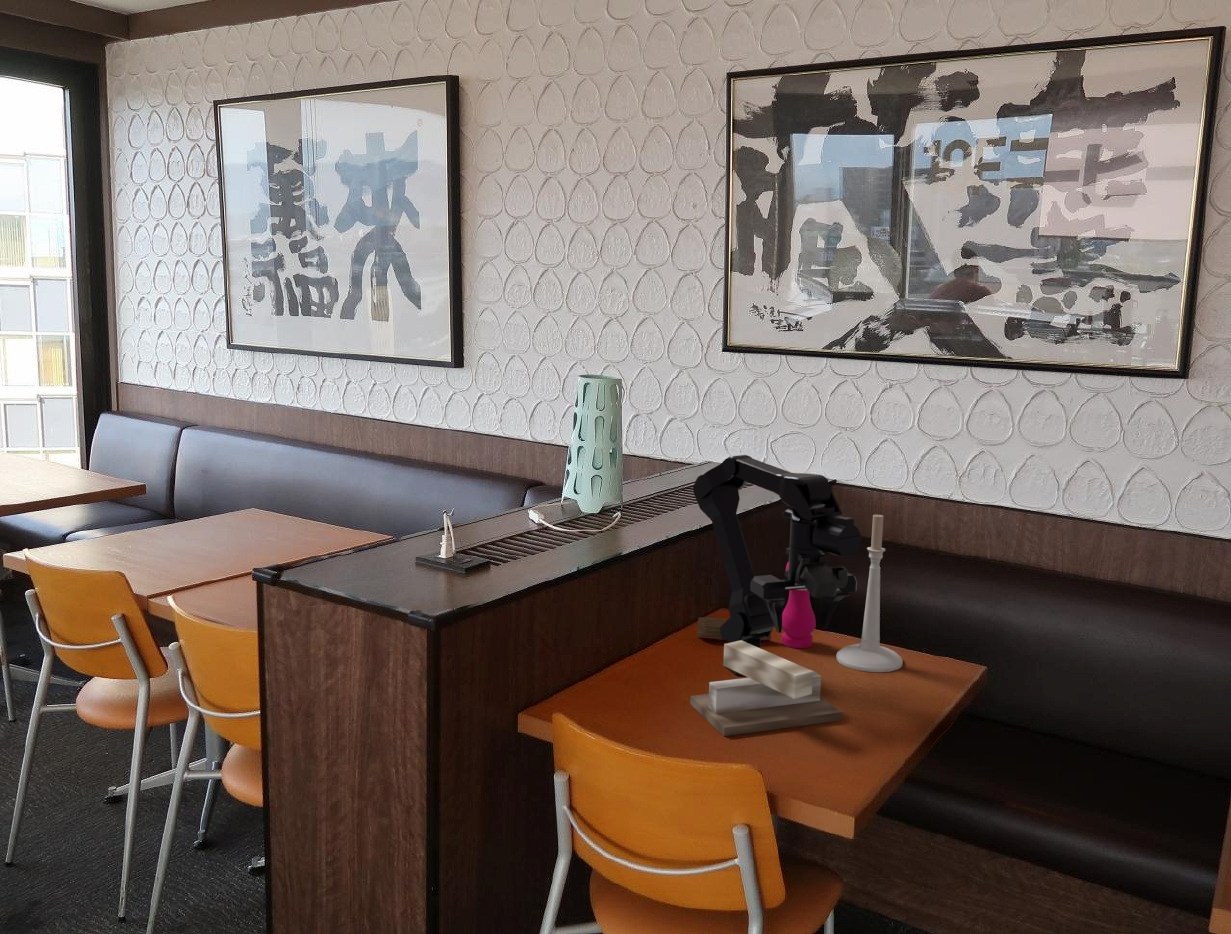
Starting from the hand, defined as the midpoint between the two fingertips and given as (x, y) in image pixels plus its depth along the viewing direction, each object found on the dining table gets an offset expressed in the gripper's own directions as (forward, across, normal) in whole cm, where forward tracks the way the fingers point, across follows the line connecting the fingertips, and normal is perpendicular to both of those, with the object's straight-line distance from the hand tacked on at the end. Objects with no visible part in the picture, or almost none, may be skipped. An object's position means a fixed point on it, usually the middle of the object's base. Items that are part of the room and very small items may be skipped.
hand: (801, 629), depth 188 cm
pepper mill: (+12, +13, +24) cm, 30 cm away
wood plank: (+12, +1, +30) cm, 32 cm away
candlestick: (+12, +22, +11) cm, 27 cm away
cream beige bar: (+6, -10, -6) cm, 13 cm away
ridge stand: (+12, -10, -6) cm, 17 cm away
